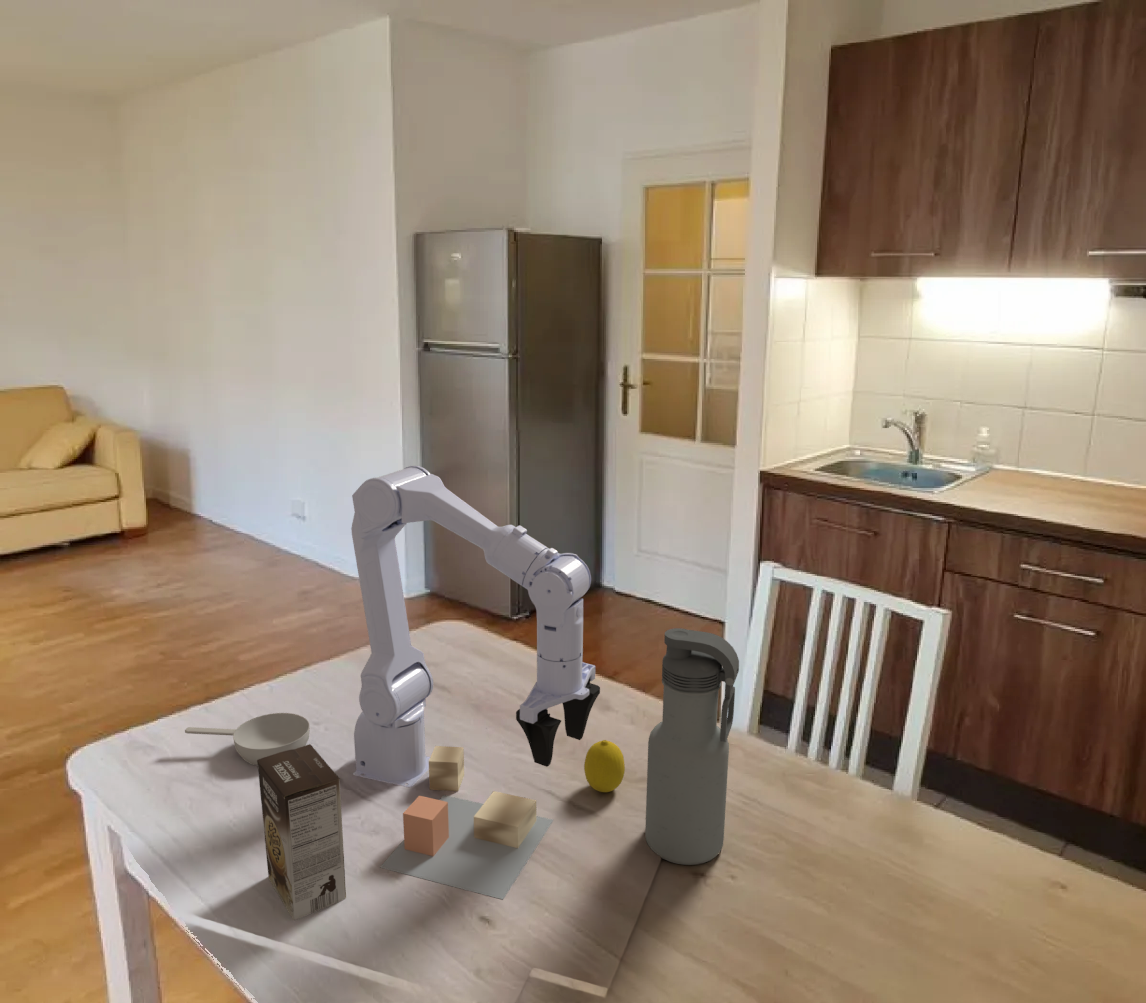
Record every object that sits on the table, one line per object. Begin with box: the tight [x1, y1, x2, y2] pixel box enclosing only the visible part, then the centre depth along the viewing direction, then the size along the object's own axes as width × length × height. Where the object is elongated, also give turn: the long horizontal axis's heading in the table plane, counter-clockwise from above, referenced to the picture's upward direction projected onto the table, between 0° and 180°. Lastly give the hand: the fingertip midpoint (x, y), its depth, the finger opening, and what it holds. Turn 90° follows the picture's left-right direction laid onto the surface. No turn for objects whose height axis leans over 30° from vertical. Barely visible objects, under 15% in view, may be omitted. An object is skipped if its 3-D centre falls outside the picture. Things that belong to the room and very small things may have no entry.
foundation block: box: [474, 790, 537, 848], centre depth 111 cm, size 6×6×3 cm
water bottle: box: [644, 627, 740, 866], centre depth 107 cm, size 10×10×28 cm
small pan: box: [184, 712, 311, 767], centre depth 130 cm, size 11×18×4 cm, turn 92°
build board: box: [379, 794, 554, 900], centre depth 109 cm, size 16×16×1 cm
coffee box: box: [257, 743, 347, 921], centre depth 99 cm, size 9×6×16 cm
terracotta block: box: [402, 795, 449, 856], centre depth 108 cm, size 4×4×5 cm
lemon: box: [583, 739, 626, 793], centre depth 120 cm, size 6×6×8 cm
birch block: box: [428, 745, 465, 792], centre depth 122 cm, size 4×4×5 cm
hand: (558, 749), depth 113 cm, fingers open, 7 cm apart
